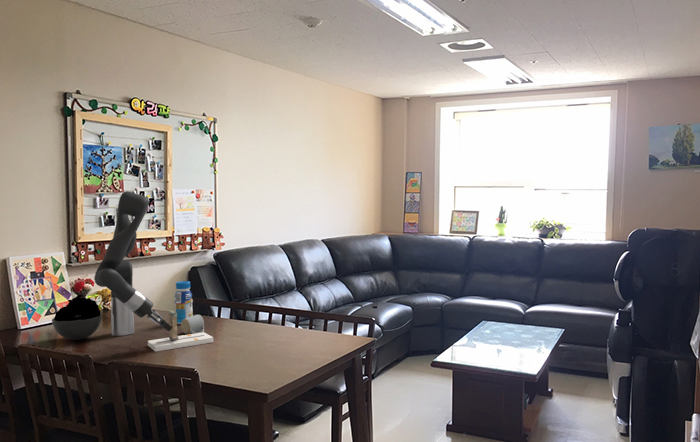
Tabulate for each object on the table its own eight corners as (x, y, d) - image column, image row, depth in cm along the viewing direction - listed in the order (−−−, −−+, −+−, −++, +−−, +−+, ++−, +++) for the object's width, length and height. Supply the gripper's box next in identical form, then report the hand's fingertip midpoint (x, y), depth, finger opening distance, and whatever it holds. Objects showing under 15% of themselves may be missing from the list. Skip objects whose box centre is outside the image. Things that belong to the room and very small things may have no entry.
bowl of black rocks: (83, 345, 245) (81, 301, 244) (42, 344, 249) (40, 300, 248) (112, 334, 264) (110, 293, 264) (73, 333, 268) (71, 292, 268)
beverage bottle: (174, 321, 288) (172, 281, 287) (191, 319, 291) (190, 280, 290) (177, 325, 280) (175, 283, 279) (194, 323, 284) (193, 282, 283)
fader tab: (172, 341, 239) (171, 313, 238) (168, 338, 244) (167, 311, 244) (179, 340, 240) (178, 312, 240) (175, 337, 246) (173, 310, 245)
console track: (155, 351, 232) (155, 346, 232) (147, 345, 243) (147, 340, 242) (213, 342, 245) (213, 337, 245) (204, 336, 255) (204, 331, 255)
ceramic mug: (180, 333, 263) (179, 316, 263) (195, 329, 269) (195, 313, 269) (193, 337, 256) (192, 319, 256) (209, 333, 262) (208, 316, 262)
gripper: (148, 298, 230) (180, 324, 237) (141, 294, 241) (172, 319, 248) (135, 313, 227) (168, 339, 234) (128, 308, 239) (159, 333, 246)
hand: (170, 329), depth 241 cm, fingers closed
